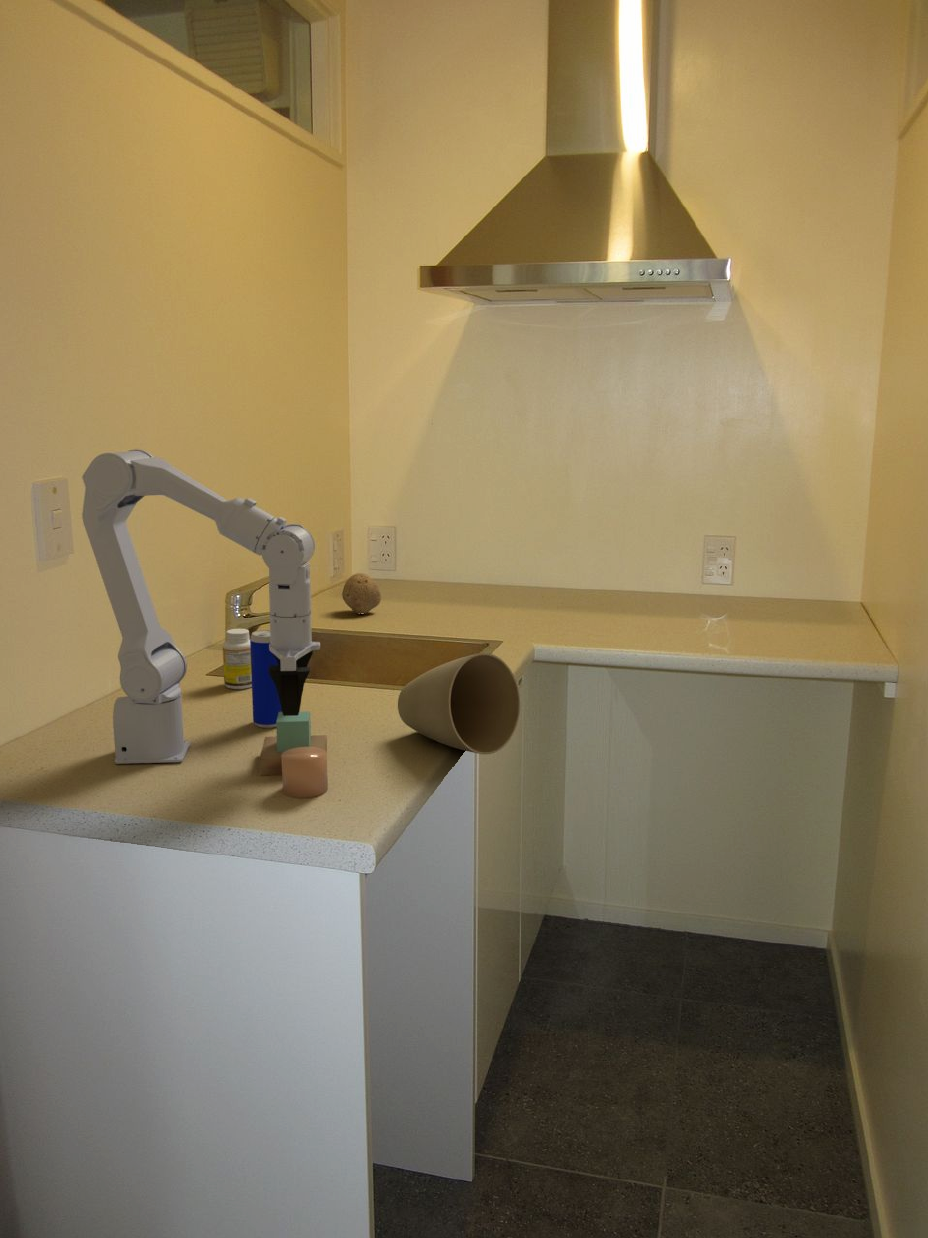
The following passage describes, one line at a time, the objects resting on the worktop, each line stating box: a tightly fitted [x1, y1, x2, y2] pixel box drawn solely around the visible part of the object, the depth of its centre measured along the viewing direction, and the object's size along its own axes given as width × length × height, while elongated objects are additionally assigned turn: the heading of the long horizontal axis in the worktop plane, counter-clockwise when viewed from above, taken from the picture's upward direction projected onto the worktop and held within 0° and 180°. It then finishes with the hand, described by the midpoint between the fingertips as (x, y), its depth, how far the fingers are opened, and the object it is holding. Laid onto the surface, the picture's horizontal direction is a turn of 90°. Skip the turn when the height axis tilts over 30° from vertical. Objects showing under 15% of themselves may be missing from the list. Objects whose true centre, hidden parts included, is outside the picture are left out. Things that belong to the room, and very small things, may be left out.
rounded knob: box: [281, 747, 329, 799], centre depth 136 cm, size 6×6×5 cm
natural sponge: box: [341, 572, 382, 614], centre depth 241 cm, size 9×9×10 cm
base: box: [259, 734, 328, 776], centre depth 145 cm, size 9×9×2 cm
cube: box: [275, 710, 312, 752], centre depth 145 cm, size 4×4×4 cm
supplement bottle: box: [222, 628, 252, 690], centre depth 182 cm, size 6×6×10 cm
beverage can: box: [249, 629, 282, 729], centre depth 161 cm, size 5×5×15 cm
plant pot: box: [397, 652, 521, 755], centre depth 154 cm, size 15×15×16 cm
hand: (292, 706), depth 144 cm, fingers open, 7 cm apart
